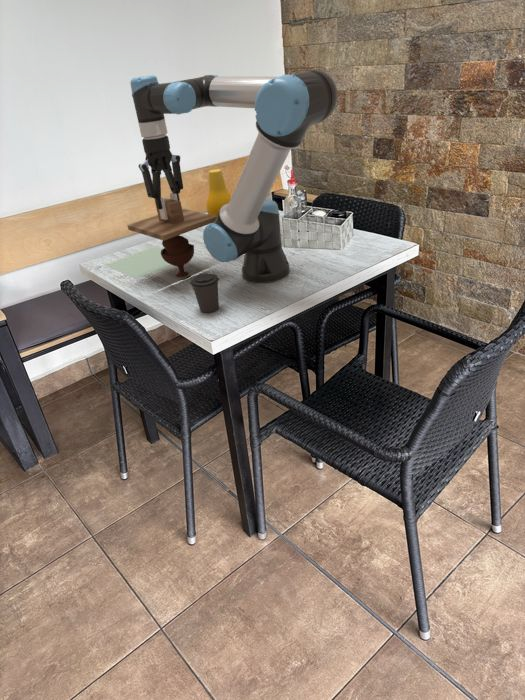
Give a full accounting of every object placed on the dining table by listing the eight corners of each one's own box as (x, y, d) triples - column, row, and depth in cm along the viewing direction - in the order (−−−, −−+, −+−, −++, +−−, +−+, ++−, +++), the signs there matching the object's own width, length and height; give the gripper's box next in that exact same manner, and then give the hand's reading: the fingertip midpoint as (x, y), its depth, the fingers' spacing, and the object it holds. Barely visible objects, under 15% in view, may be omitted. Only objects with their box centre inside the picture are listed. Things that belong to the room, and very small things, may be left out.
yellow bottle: (228, 248, 192) (216, 166, 177) (246, 253, 186) (234, 168, 171) (209, 257, 187) (195, 173, 172) (226, 261, 181) (213, 175, 166)
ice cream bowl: (194, 283, 168) (185, 237, 160) (161, 283, 170) (151, 239, 163) (203, 269, 177) (195, 226, 169) (172, 270, 179) (163, 227, 172)
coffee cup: (204, 318, 145) (198, 285, 140) (190, 309, 151) (183, 277, 146) (229, 308, 149) (224, 275, 144) (214, 300, 155) (208, 268, 150)
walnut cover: (217, 221, 164) (213, 196, 160) (163, 240, 153) (158, 215, 149) (180, 212, 177) (175, 189, 173) (128, 229, 166) (122, 206, 162)
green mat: (189, 259, 187) (189, 257, 186) (136, 280, 175) (136, 278, 174) (155, 248, 202) (155, 246, 201) (104, 267, 189) (104, 265, 189)
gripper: (171, 130, 159) (185, 207, 171) (122, 142, 149) (140, 222, 161) (186, 131, 154) (199, 210, 166) (136, 143, 144) (154, 226, 156)
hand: (170, 216), depth 163 cm, fingers closed on walnut cover, 4 cm apart
